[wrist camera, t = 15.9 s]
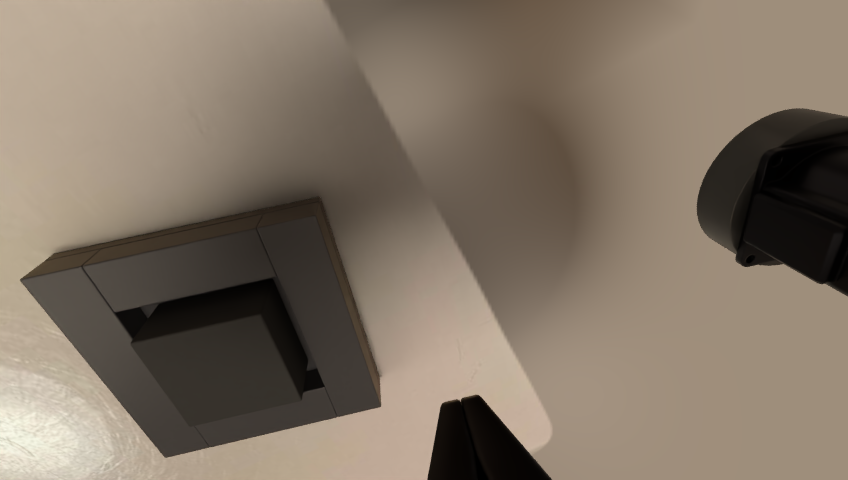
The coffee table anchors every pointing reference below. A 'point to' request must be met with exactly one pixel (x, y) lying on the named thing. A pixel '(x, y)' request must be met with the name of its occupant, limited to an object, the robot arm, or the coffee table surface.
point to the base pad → (205, 273)
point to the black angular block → (224, 353)
